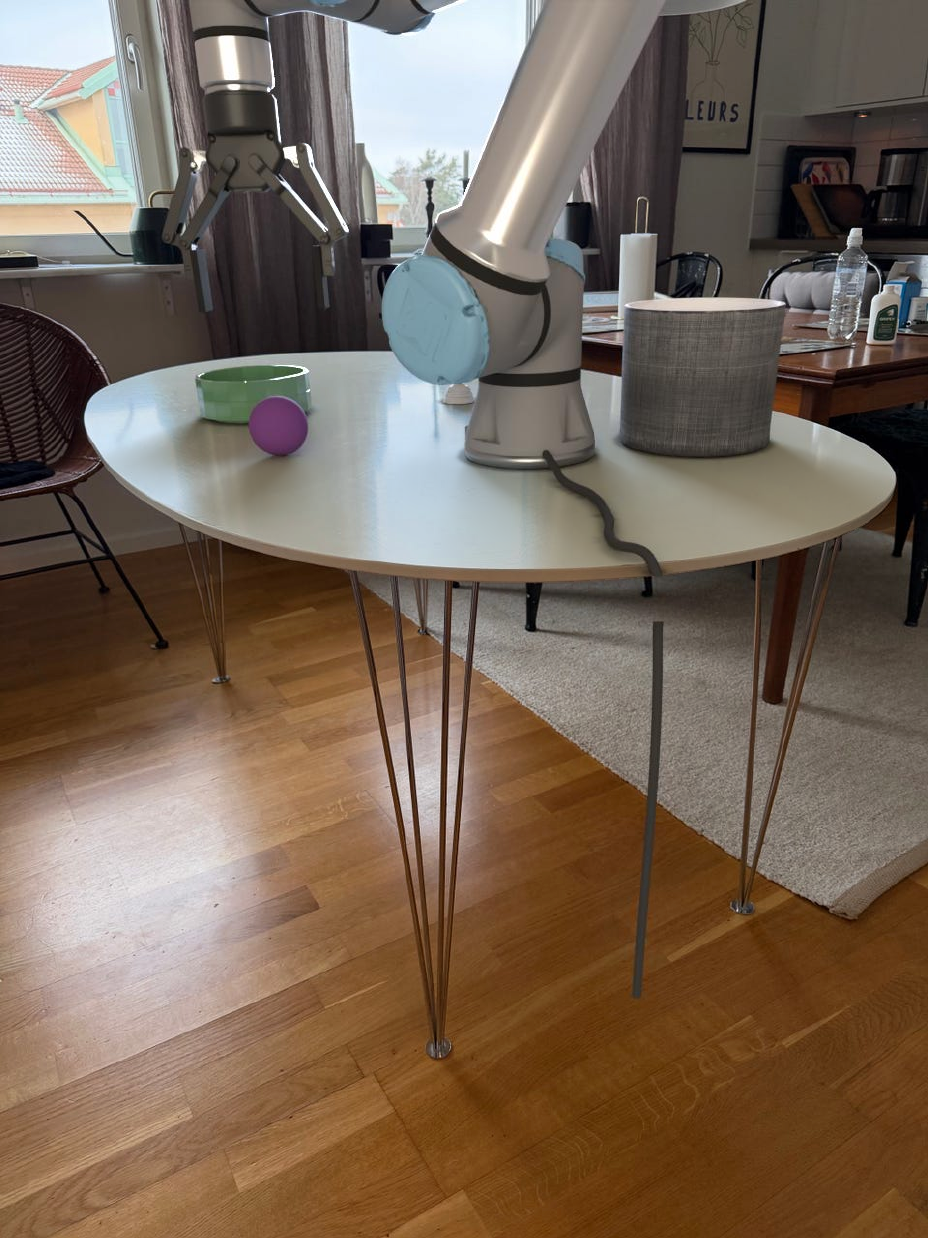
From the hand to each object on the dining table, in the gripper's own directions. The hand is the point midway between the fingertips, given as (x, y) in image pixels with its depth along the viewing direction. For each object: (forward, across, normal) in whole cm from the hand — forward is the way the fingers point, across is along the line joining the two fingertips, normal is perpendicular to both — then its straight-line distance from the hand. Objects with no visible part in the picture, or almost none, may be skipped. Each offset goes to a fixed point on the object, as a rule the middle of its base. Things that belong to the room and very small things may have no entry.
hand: (264, 310), depth 97 cm
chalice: (+17, -20, -33) cm, 42 cm away
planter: (+17, -50, -3) cm, 53 cm away
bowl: (+17, +10, -26) cm, 32 cm away
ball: (+13, 0, 0) cm, 13 cm away
